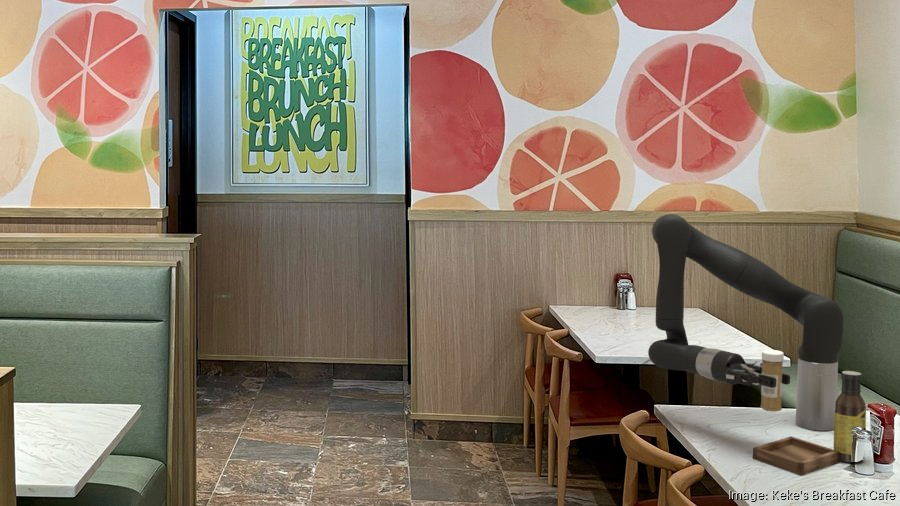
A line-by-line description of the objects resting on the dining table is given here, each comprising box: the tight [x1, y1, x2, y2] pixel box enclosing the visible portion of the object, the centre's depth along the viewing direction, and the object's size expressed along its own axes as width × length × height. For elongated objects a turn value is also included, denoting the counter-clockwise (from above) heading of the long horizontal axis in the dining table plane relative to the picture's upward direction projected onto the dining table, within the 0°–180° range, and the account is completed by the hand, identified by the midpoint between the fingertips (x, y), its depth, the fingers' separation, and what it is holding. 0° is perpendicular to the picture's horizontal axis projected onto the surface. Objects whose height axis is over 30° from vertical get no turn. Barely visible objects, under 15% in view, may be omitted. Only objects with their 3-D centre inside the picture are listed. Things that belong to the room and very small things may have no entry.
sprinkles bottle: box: [760, 349, 785, 412], centre depth 175 cm, size 5×5×14 cm
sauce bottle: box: [833, 370, 867, 463], centre depth 173 cm, size 6×6×20 cm
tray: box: [752, 436, 840, 476], centre depth 173 cm, size 14×12×2 cm
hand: (781, 381), depth 173 cm, fingers closed on sprinkles bottle, 4 cm apart
